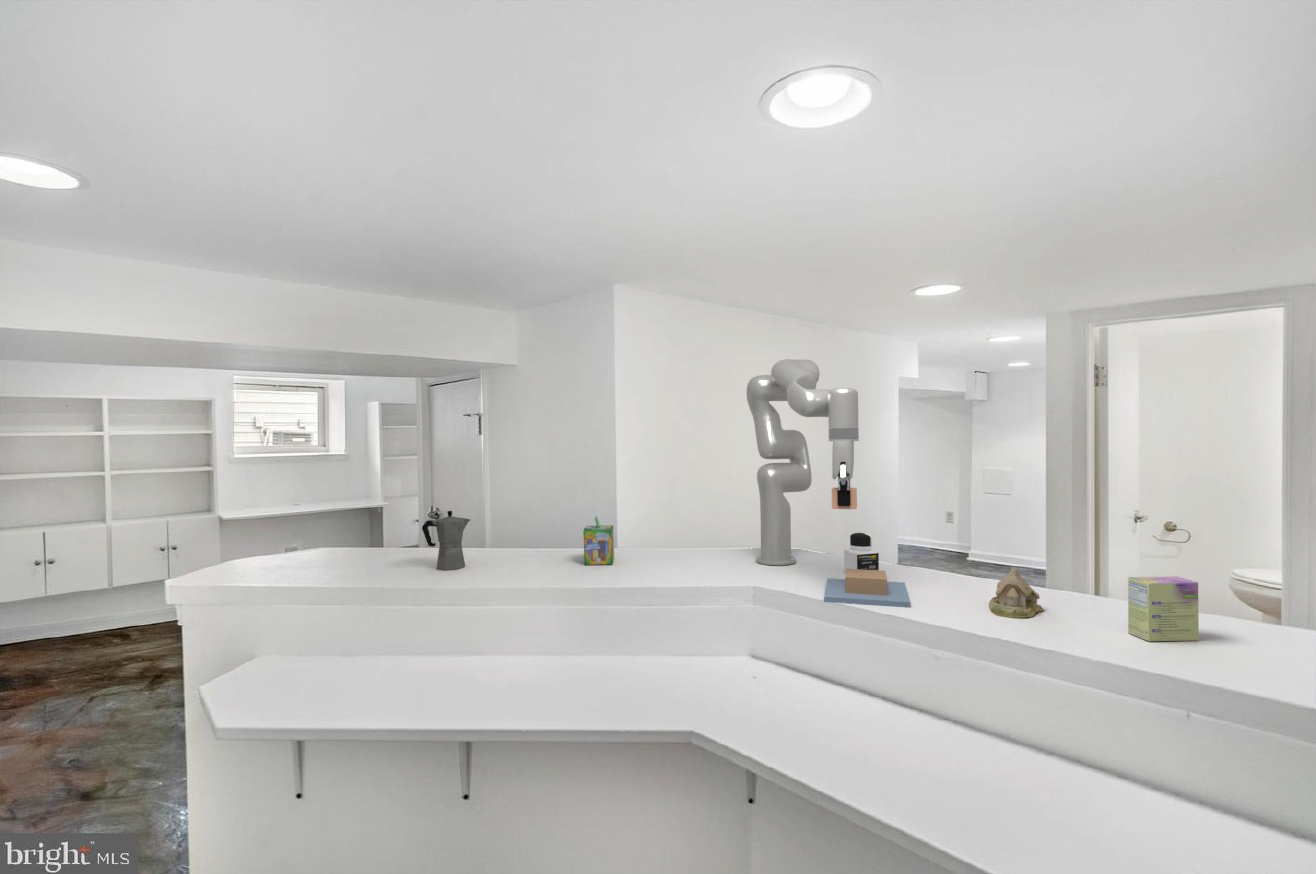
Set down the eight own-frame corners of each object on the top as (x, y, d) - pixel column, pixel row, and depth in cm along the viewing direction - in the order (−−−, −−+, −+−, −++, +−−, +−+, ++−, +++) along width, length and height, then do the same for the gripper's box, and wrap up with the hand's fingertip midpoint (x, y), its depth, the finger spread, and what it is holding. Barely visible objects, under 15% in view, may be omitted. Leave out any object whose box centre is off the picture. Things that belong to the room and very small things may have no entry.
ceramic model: (991, 600, 161) (990, 560, 160) (1043, 607, 155) (1043, 565, 154) (984, 615, 149) (984, 571, 149) (1041, 622, 143) (1041, 577, 142)
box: (1175, 632, 135) (1175, 575, 134) (1199, 641, 129) (1199, 582, 129) (1126, 633, 134) (1126, 576, 134) (1148, 642, 129) (1148, 583, 128)
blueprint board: (827, 582, 180) (827, 563, 180) (904, 587, 174) (904, 567, 174) (824, 601, 161) (823, 580, 161) (910, 607, 155) (910, 585, 155)
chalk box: (612, 565, 206) (611, 518, 206) (583, 565, 206) (582, 519, 206) (615, 559, 215) (614, 514, 215) (587, 559, 215) (586, 515, 215)
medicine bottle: (857, 578, 184) (857, 536, 184) (843, 573, 191) (843, 532, 191) (879, 576, 186) (879, 534, 186) (865, 571, 193) (864, 531, 193)
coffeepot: (464, 562, 214) (463, 507, 214) (476, 566, 207) (475, 510, 206) (417, 569, 204) (416, 512, 204) (428, 574, 197) (427, 514, 196)
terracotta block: (833, 506, 173) (833, 487, 173) (856, 506, 171) (856, 487, 171) (831, 508, 168) (831, 489, 167) (856, 509, 166) (855, 489, 166)
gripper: (830, 435, 179) (831, 501, 179) (826, 436, 162) (827, 508, 162) (859, 435, 176) (860, 501, 176) (857, 435, 160) (859, 508, 160)
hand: (844, 503), depth 169 cm, fingers closed on terracotta block, 6 cm apart
